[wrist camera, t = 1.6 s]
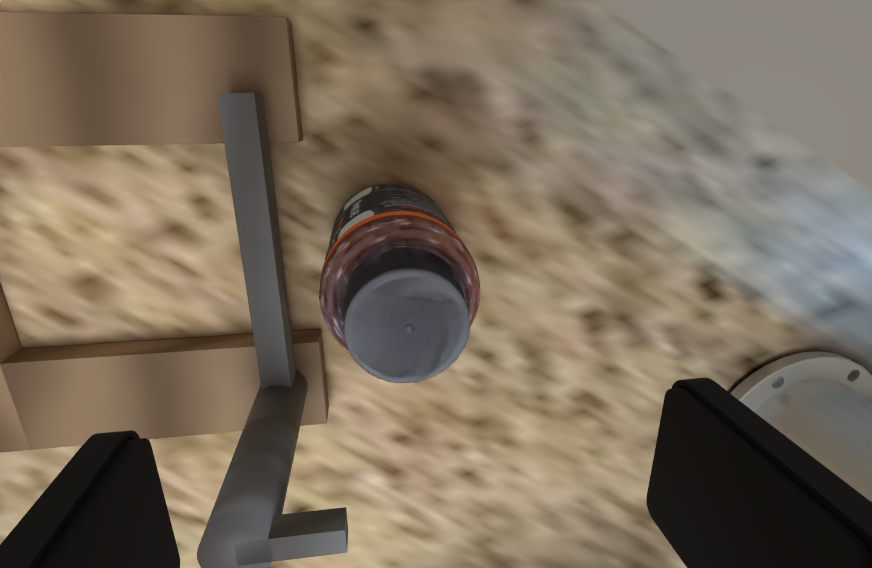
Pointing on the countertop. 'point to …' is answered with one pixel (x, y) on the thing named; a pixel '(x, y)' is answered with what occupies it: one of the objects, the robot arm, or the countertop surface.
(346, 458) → the countertop surface
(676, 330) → the countertop surface
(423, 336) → the supplement bottle
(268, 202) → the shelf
